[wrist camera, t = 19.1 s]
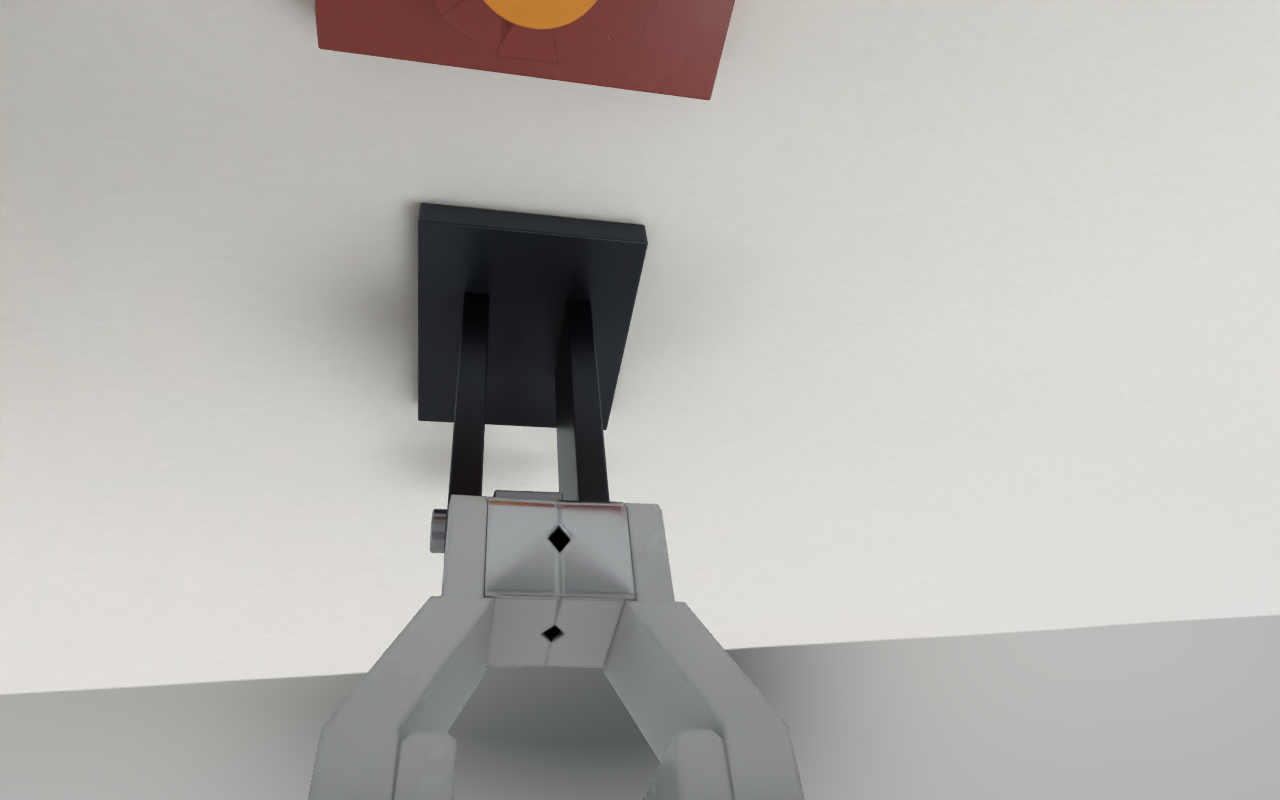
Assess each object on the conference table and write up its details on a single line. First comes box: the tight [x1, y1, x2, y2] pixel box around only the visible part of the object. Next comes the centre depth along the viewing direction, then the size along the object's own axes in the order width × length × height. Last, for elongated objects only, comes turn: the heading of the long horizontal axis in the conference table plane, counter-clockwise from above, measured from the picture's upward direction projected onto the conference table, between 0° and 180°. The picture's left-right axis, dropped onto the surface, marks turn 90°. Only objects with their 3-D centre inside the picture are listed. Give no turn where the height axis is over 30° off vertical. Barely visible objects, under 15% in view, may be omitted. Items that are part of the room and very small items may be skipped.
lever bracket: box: [418, 203, 648, 553], centre depth 31 cm, size 10×8×13 cm
